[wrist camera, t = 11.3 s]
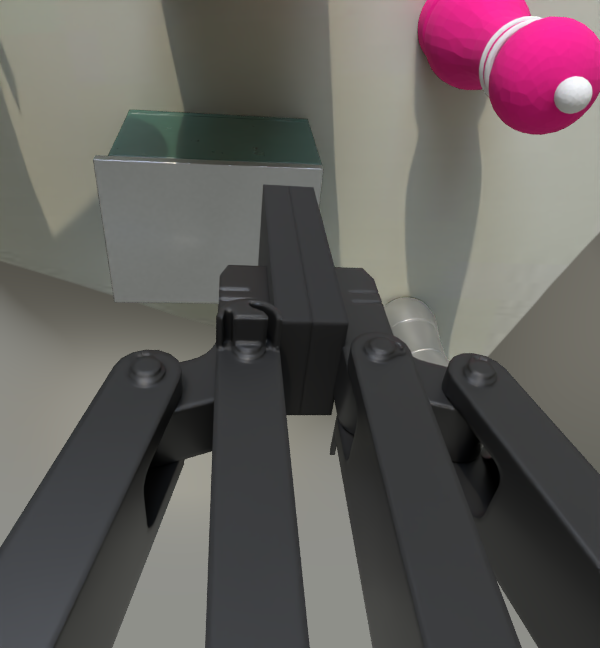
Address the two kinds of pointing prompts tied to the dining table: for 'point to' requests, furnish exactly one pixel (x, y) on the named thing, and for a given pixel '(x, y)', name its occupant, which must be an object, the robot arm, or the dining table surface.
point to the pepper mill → (514, 60)
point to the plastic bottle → (416, 329)
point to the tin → (215, 138)
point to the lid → (184, 221)
